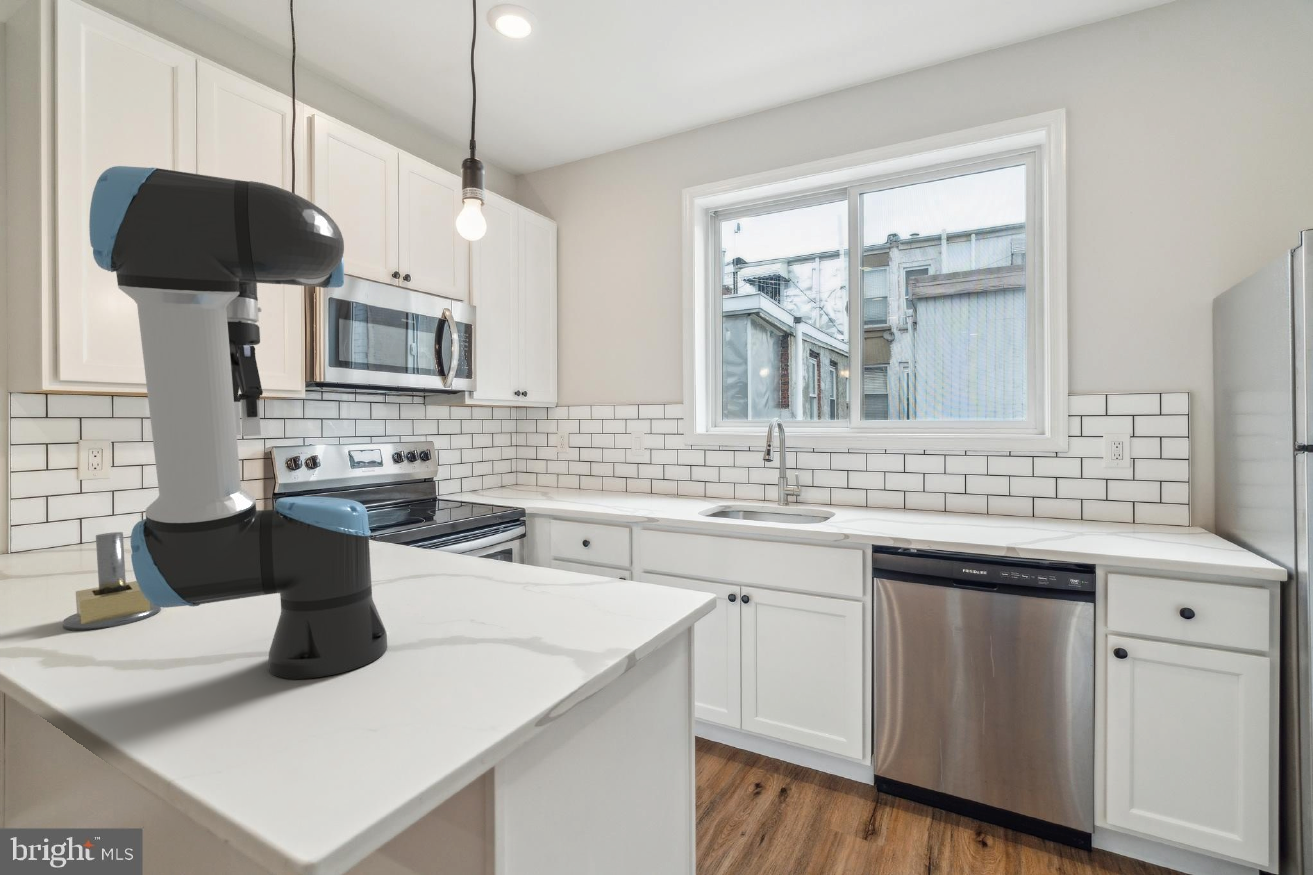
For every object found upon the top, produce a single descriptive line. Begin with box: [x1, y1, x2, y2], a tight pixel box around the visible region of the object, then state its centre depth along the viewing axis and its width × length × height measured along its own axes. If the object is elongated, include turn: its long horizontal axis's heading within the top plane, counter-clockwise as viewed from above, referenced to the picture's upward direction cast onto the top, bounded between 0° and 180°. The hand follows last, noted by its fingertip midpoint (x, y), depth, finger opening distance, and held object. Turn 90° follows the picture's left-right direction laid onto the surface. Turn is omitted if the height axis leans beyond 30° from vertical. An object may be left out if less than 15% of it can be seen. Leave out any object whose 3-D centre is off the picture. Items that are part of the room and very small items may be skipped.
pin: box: [95, 531, 127, 595], centre depth 109 cm, size 4×4×14 cm
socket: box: [62, 580, 162, 632], centre depth 109 cm, size 13×13×5 cm
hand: (241, 435), depth 116 cm, fingers open, 13 cm apart
